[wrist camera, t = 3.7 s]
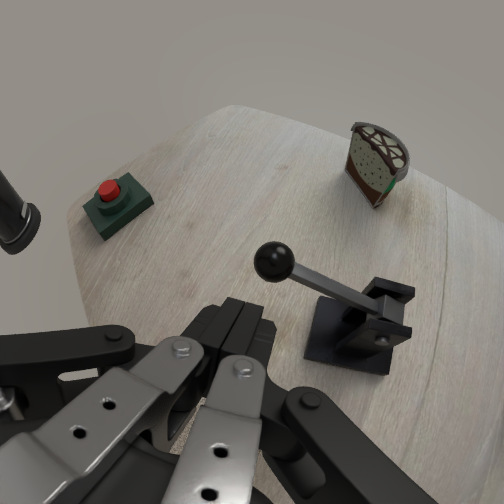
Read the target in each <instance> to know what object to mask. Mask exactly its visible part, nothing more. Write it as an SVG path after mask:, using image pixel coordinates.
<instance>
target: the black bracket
mask: <svg viewBox="0 0 504 504" xmlns="http://www.w3.org/2000/svg"><path fill="white" fill-rule="evenodd" d="M361 293H362V294H364V295H366V296H368V297H370V298H372V299H376V298H378V297H381V296H383V295H387V296H389V297H391V298H393V299H395V300H397V301H399V302H401V303H403V304H406V303H407V302H409V301H410V300H411V299H413V298H414V297H415V287H411V286H408V285H404V284H401V283H397V282H393V281H390V280H386V279H383V278H379V277H374V279H373V280H372V281H371V282H370V283H369V284H368V286H367V287H366V288H365V289H364V290H363V291H362V292H361ZM366 318H367V313H366V312H364V311H361V310H359V309H357V308H355V307H352V306H350V305H348V304H346V303H343V302H341V301H339V300H335V299H332V298H328V297H324V296H320V297H319V298H318V301H317V306H316V310H315V314H314V319H313V323H312V327H311V331H310V335H309V339H308V343H307V347H306V350H305V354H304V359H308V360H312V361H316V362H320V363H325V364H329V365H333V366H338V367H343V368H347V369H352V370H357V371H362V372H368V373H373V374H378V375H384V376H385V375H389V371H390V365H391V359H392V353H393V347H394V346H396V345H398V344H400V343H402V342H404V341H406V340H408V339H410V338H411V335H412V327H407V326H403V325H398V324H394V323H390V322H386V321H381V320H377V319H373V318H369V319H368V320H367V321H366Z"/></svg>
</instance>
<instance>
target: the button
mask: <svg viewBox="0 0 504 504" xmlns="http://www.w3.org/2000/svg"><path fill="white" fill-rule="evenodd" d="M98 193H99V194H100V196H101V198H102V200H103V201H105V202H110V201H113V200H114V199H116V198H117V197H118V195H119V193H120V189H119V187H118V185H117V183H116V181H114V180H107V181H105V182H103V183H102V184H101V185H100V187H99V189H98Z"/></svg>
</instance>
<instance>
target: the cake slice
mask: <svg viewBox="0 0 504 504" xmlns="http://www.w3.org/2000/svg"><path fill="white" fill-rule="evenodd" d="M351 131H353V134H352V138H351V143H350V148H349V153H348V157H347V162H346V166H345V171H346V172H347V174H348V175H349V176H350V178H351V179H352V180H353V182H354V183H355V184H356V186H357V187H358V188H359V190H360V191H361V193H362V194H363V195H364V197H365V198H366V200H367V201H368V202H369V204H370V205H371V207H372V208H373V209H374V208H376V207H378V206H379V205H380V204H381V203H382V202H383V201H384V199H385V198H386V197H387V195H388V194H389V192H390V191H391V189H392V188H393V187H394V185H395V184H396V182H399V181H401V180H402V179H404V178H405V176H406V175H407V172H408V168H409V163H410V160H409V159H410V158H409V153H408V150H407V148H406V147H405V145H404V144H403V143H402V142H401V141H400V139H398V138H397V137H396V136H395V135H394V134H392V133H390V132H389V131H387V130H385V129H384V128H381V127H379V126H376V125H373V124H369V123H364V122H355V124H354V125H353V126H352V128H351Z"/></svg>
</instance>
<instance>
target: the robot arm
mask: <svg viewBox="0 0 504 504" xmlns="http://www.w3.org/2000/svg"><path fill="white" fill-rule="evenodd" d="M31 219H32V211H31V209H30V208H29V207H28V206H27V203H26V202H25V201H23V200H22V199H21V197H20V196H19V195H18V194H17V192H16V191H15V190H14V188H13V187H12V186H11V184H10V183H9V182H8V180H7V179H6V177H5V176H4V175H3V173H2V172H1V171H0V238H1V239H2V241H3V242H4V243H5V244H8V245H10V244H13V243H15V242H16V241H18V240H19V239H20V238H21V237H22V236H23V235H24V233H25V232H26V230H27V229H28V227H29V225H30V222H31ZM263 309H264V307H263V306H260V305H256V304H252V303H249V302H246V304H245V301H241V300H238V299H234V298H231V297H227V299H226V300H225V301H224V303H223V304H222V306H221V307H220V306H216V305H213V304H212V305H210V306H207V307H205V308H203V309H202V310H201V311H200V312H199V314H198V316H196V317H195V318H194V320H193V321H192V322H191V323H190V324H189V326H188V327H187V328H186V329H185V330H184V332H183V333H182V334H181V335H180V336H172V337H168V338H166V339H164V340H163V341H161V342H160V343H159V344H158V345H157V346H149V345H144V344H138V343H135V335H134V333H133V332H132V331H131V330H130V329H128V328H126V327H124V326H120V325H104V326H96V327H87V328H79V329H70V330H60V331H50V332H39V333H28V334H14V335H0V504H273V503H272V502H271V500H270V499H268V498H267V497H266V496H265V495H264V494H263V493H262V492H260V491H259V490H258V489H256V488H255V487H253V480H254V474H255V467H256V461H257V455H258V449H260V450H262V455H263V457H264V459H265V461H266V462H267V464H268V465H269V467H270V468H271V470H272V471H273V473H274V474H275V476H276V477H277V479H278V480H279V482H280V483H281V484H282V486H283V487H284V489H285V490H286V491H287V493H288V494H289V496H290V497H291V498H292V500H293V501H294V502H295V504H438V503H437V502H436V501H435V500H434V499H433V498H432V497H430V496H429V495H428V494H427V493H426V492H425V491H424V490H423V489H422V488H420V487H419V486H418V485H417V484H416V483H415V482H414V481H413V480H412V479H411V478H410V477H409V476H407V475H406V474H405V473H404V472H403V471H402V470H401V469H400V468H399V467H398V466H397V465H396V464H395V463H394V462H393V461H392V460H391V459H389V458H388V457H387V456H386V455H385V454H384V453H383V452H382V451H381V450H380V449H379V448H378V447H377V446H376V445H375V444H374V443H373V442H372V441H371V440H370V439H369V438H368V437H367V436H366V435H365V434H364V433H363V432H362V431H361V430H360V429H359V428H358V427H357V426H356V425H355V424H354V423H353V422H352V421H351V420H350V419H349V418H348V417H347V416H346V415H345V414H344V413H343V412H342V411H341V409H340V408H339V407H338V406H337V405H336V404H335V403H334V402H333V401H332V400H331V399H330V398H329V397H328V396H327V395H326V394H325V393H323V392H322V391H320V390H318V389H315V388H312V387H304V386H303V387H296V388H293V389H291V390H290V391H286V390H284V389H282V388H281V387H279V386H277V385H276V384H275V383H273V382H272V381H271V379H270V378H269V376H268V374H267V366H268V362H269V358H270V354H271V350H272V347H273V343H274V339H275V335H276V331H277V329H276V326H275V324H274V322H273V321H269V320H266V319H262V314H263ZM92 368H97V371H98V377H92V378H86V379H80V380H73V381H62V380H60V379H59V378H58V376H59V375H60V374H62V373H65V372H72V371H80V370H86V369H92ZM201 397H205V398H206V401H205V404H204V405H201V406H200V408H199V410H198V412H197V415H196V417H195V420H194V422H193V425H192V427H191V430H190V433H189V435H188V438H187V440H186V443H185V445H184V448H183V450H182V453H181V455H176V454H171V453H169V452H170V449H171V448H172V446H173V444H174V443H175V442H176V440H177V439H178V437H179V436H180V434H181V433H182V431H183V430H184V428H185V427H186V425H187V424H188V422H189V421H190V419H191V418H192V417H193V415H194V414H195V412H196V406H197V404H198V403H199V401H200V399H201Z"/></svg>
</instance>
